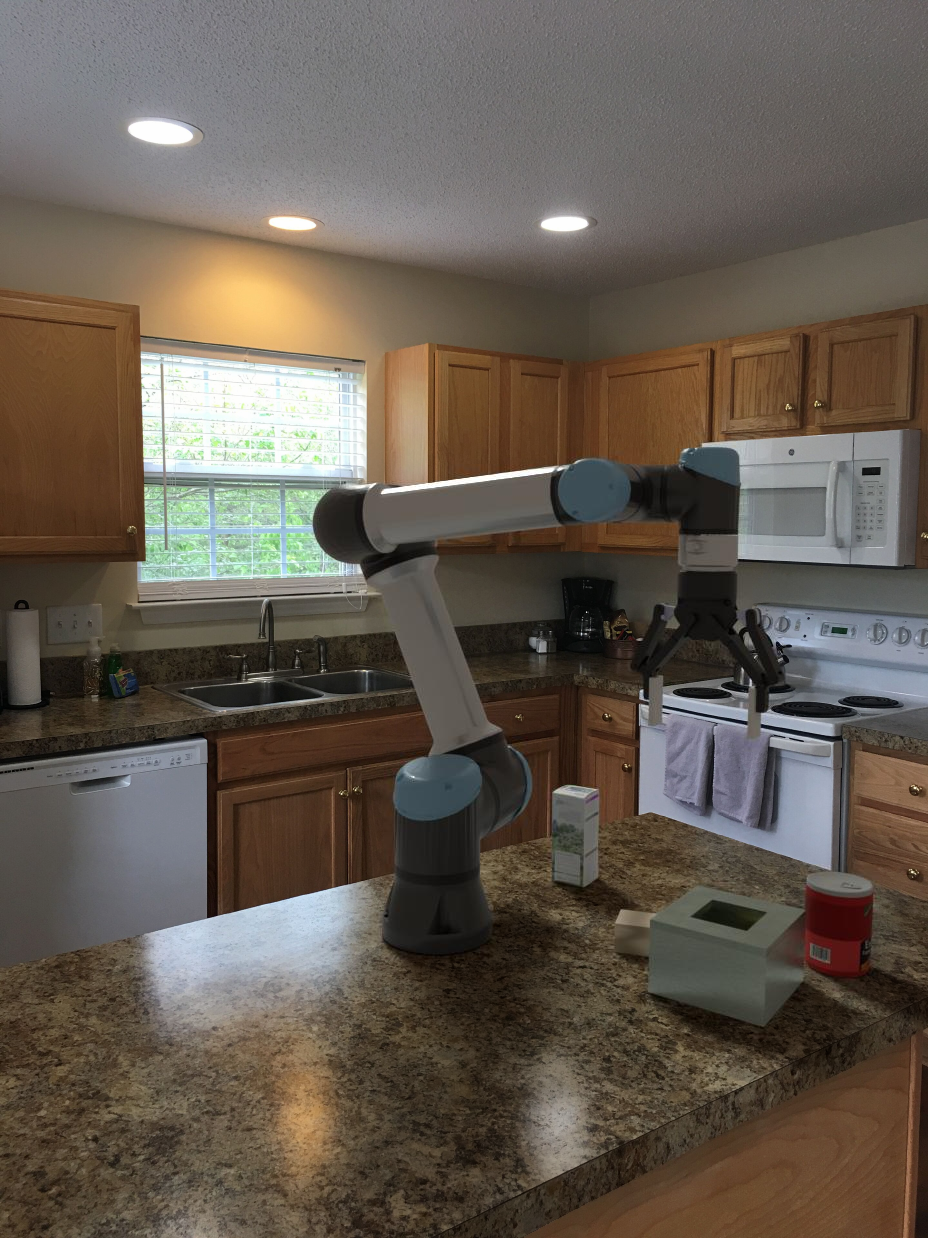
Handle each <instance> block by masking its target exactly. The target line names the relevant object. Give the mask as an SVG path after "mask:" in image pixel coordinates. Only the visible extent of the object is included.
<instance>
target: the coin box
mask: <svg viewBox="0 0 928 1238" xmlns="http://www.w3.org/2000/svg"><path fill="white" fill-rule="evenodd" d="M656 914H657V915H655V916H654V917H653V918H651V919H650V942H649V956H648V987H647V988H648V989H647V990H648V991H647V993H649V994H653V995H656V996H660V997H662V998H666V999H670V1000H674V1001H676V1002H680V1003H683V1004H686V1005H690V1006H693V1007H696V1008H700V1009H703V1010H706V1011H708V1012H711V1013H716V1014H719V1015H723V1016H727V1017H730V1018H732V1019H736V1020H739V1021H743V1022H746V1023H749V1024H753V1025H756V1026H759V1027H763V1028H764V1027H766V1025H767V1024H768V1023H769V1022H770V1020H771V1019H772V1018H773V1017H774V1016H775V1015H776V1013H777V1012H778V1011H779V1010H780V1009H781V1007H783V1005H784V1004H785V1003H786V1002H787V1001H788V999H790V997H791V996H792V995H793V993H794V992H796V990H797V988H799V987H800V986H801V984H802V983H803V982H804V967H805V966H804V965H805V958H804V945H805V919H806V910H805V908H804V909H802V908H799V907H794V906H790V905H785V904H781V903H776V902H773V901H769V900H764V899H759V898H754V897H752V896H751V897H750V896H747V895H741V894H736V893H733V892H728V891H725V890H720V889H715V888H710V887H707V886H702V885H695V886H694V887H693V888H691V889H689V890H688V891H687V892H686V893H685V894H683V895H681V896H680V897H679V898H678V899H676V900H674V901H673V902H672V903H671V904H669V905H668V906H666V907H665V908H664V909H663V910H661V911H659V912H658V913H656Z"/></svg>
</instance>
